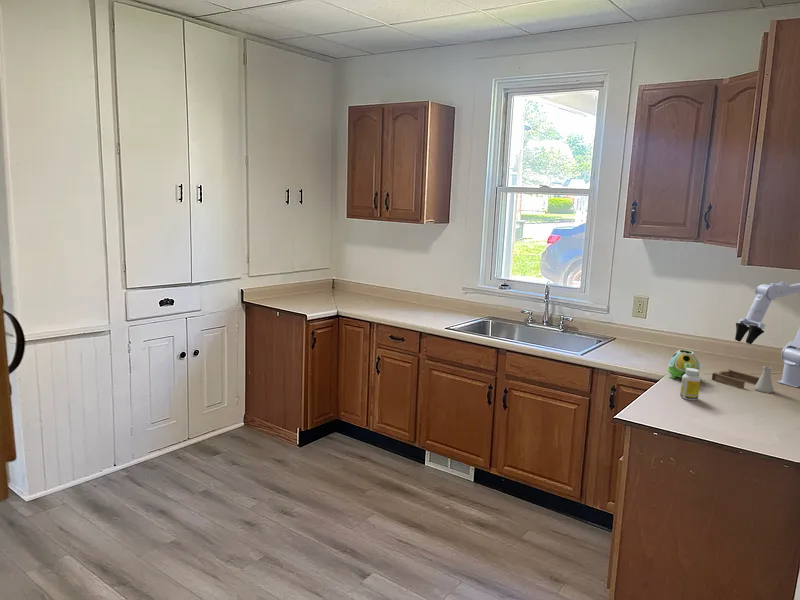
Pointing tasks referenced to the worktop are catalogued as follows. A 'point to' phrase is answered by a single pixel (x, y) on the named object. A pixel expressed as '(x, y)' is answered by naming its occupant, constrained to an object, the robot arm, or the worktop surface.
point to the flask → (765, 381)
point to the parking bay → (734, 378)
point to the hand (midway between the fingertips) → (742, 342)
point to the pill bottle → (690, 384)
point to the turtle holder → (682, 363)
